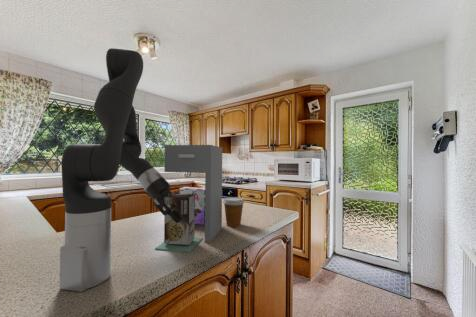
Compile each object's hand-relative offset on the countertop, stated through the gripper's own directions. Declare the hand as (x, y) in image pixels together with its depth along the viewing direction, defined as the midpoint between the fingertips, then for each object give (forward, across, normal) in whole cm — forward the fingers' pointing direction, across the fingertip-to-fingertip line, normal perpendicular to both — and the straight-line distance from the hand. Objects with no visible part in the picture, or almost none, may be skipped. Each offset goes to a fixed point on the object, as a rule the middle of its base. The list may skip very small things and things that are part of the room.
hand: (184, 218), depth 74 cm
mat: (+5, 0, +7) cm, 9 cm away
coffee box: (+5, 0, +7) cm, 8 cm away
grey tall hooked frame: (+6, +11, +7) cm, 14 cm away
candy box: (+2, +25, +11) cm, 27 cm away
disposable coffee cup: (+15, +25, -2) cm, 29 cm away
